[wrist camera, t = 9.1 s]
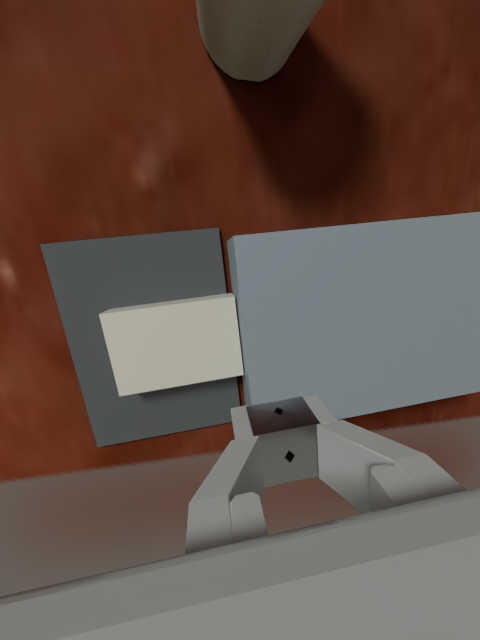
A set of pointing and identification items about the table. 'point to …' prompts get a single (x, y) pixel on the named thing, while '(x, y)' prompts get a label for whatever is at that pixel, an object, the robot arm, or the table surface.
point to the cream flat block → (173, 343)
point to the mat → (130, 290)
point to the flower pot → (253, 33)
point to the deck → (360, 312)
